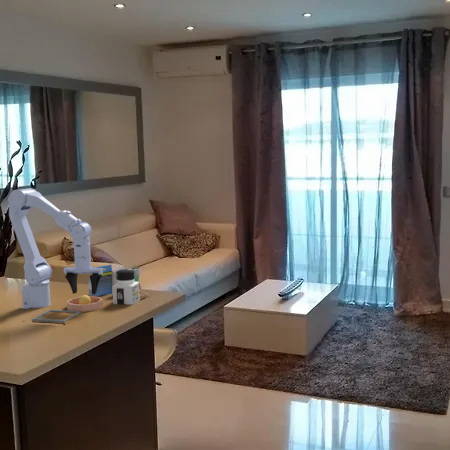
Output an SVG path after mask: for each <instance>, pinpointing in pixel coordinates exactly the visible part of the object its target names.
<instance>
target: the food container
mask: <svg viewBox="0 0 450 450" xmlns="http://www.w3.org/2000/svg"><path fill="white" fill-rule="evenodd" d="M131 269H132V270H134V277H135V281H134V282H139V283H140V280H139V279H140V275H141V273H142V272H141V269H140V267H138V266H133V268H131ZM117 271H118V270H115V273H114V277H115V279H116V284H117V283H118V282H117Z"/></svg>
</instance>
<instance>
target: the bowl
mask: <svg viewBox="0 0 450 450" xmlns="http://www.w3.org/2000/svg"><path fill="white" fill-rule="evenodd" d="M88 296H89V295H88ZM80 297H81V296H77V297H73V298H70V299H67V301H66V309H67V310H66V311H81V313H85V312H93V311H97V310H100V309H102V308H103V307H104V300H103V297H100V296H95V297H93V296H89V297H90V299H91V303H90V304H82V305H80V304H79V298H80Z"/></svg>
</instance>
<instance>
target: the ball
mask: <svg viewBox="0 0 450 450" xmlns="http://www.w3.org/2000/svg"><path fill="white" fill-rule="evenodd" d="M79 297H80V298H79V304H80V305H82V304H90V303H91V299H90V297H89V295H87V294H82V295H81V296H79Z"/></svg>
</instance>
